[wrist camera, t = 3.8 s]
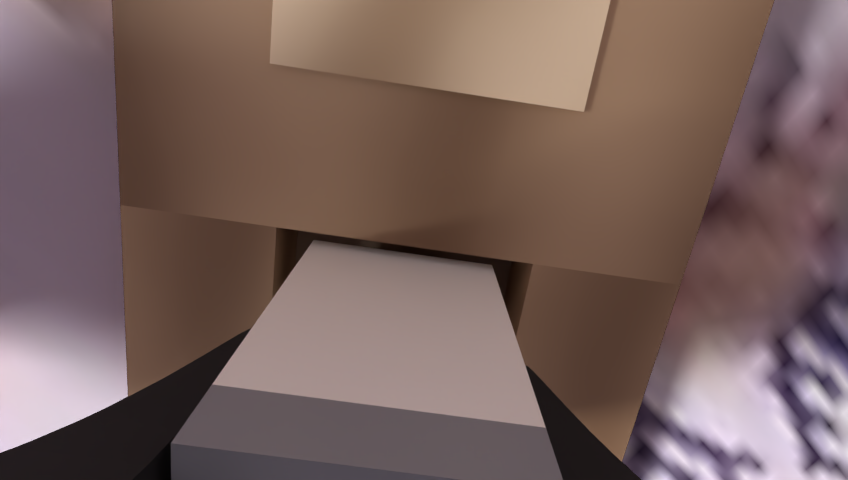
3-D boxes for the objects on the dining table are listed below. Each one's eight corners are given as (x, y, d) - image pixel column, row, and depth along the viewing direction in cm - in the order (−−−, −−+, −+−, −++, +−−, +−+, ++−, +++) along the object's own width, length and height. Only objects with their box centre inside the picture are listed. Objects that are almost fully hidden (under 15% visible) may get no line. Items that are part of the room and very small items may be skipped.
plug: (300, 392, 12) (174, 708, 6) (313, 240, 11) (170, 443, 5) (461, 414, 13) (493, 742, 6) (491, 265, 11) (566, 492, 5)
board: (178, 431, 15) (127, 503, 13) (175, -338, 10) (84, -486, 7) (567, 480, 16) (594, 560, 13) (775, -229, 10) (892, -332, 8)
